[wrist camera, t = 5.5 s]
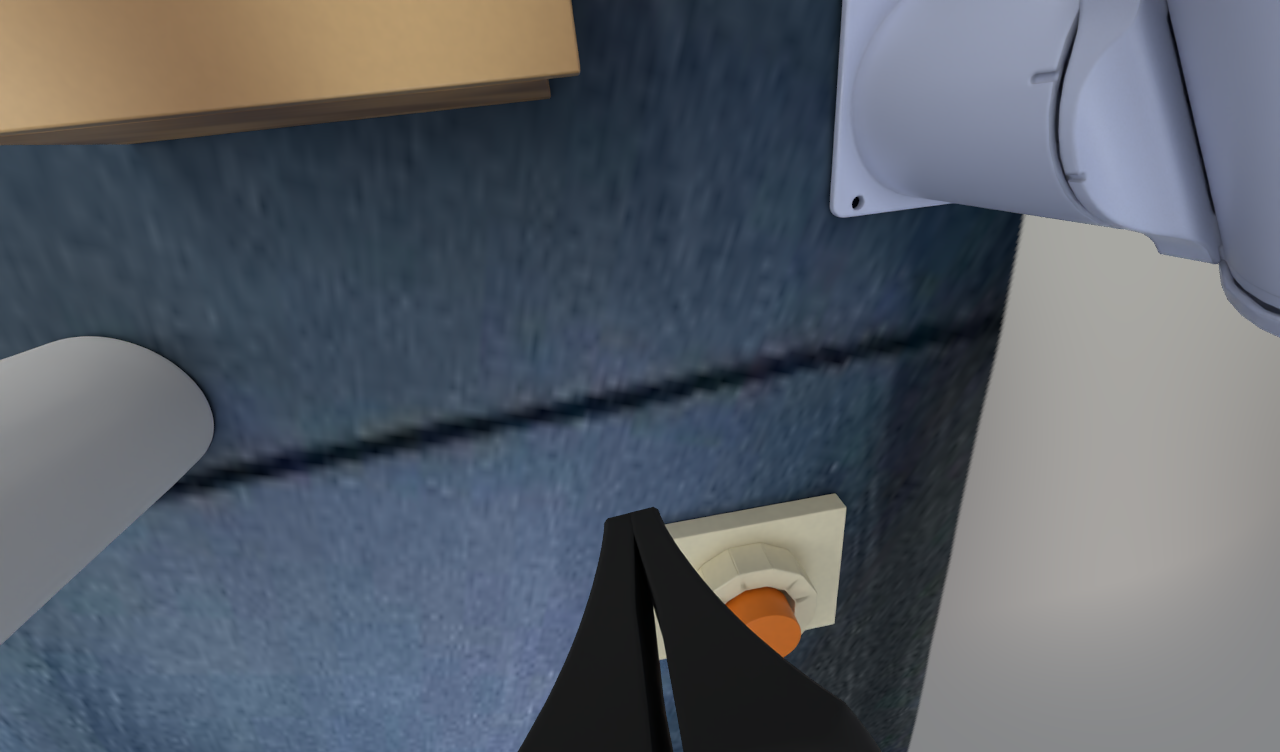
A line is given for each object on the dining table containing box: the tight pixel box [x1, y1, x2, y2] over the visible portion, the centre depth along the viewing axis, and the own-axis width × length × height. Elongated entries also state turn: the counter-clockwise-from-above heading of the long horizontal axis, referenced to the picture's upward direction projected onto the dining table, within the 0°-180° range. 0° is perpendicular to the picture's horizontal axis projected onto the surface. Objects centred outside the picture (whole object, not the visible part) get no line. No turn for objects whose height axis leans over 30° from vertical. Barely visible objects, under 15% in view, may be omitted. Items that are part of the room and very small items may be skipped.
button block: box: [653, 493, 846, 660], centre depth 27 cm, size 11×9×3 cm
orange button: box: [725, 586, 801, 657], centre depth 25 cm, size 4×4×2 cm
